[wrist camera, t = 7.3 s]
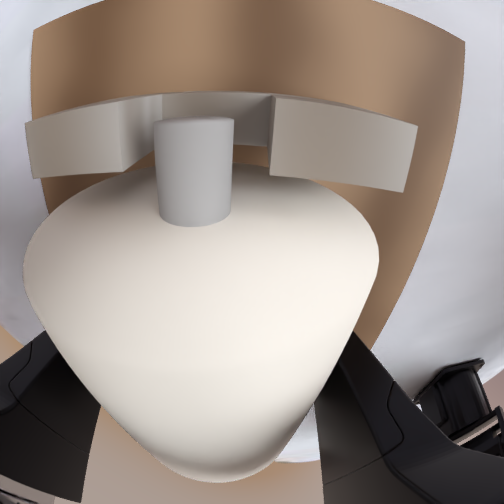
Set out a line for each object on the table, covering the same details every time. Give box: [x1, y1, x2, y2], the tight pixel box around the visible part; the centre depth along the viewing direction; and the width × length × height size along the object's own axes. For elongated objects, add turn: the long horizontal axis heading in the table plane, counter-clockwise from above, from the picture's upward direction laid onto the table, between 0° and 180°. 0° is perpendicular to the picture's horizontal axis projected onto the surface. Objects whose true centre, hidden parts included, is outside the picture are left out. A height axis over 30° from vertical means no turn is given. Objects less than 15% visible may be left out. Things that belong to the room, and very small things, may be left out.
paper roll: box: [23, 116, 379, 483], centre depth 7 cm, size 6×11×6 cm, turn 177°
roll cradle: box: [25, 0, 465, 350], centre depth 9 cm, size 17×20×6 cm
